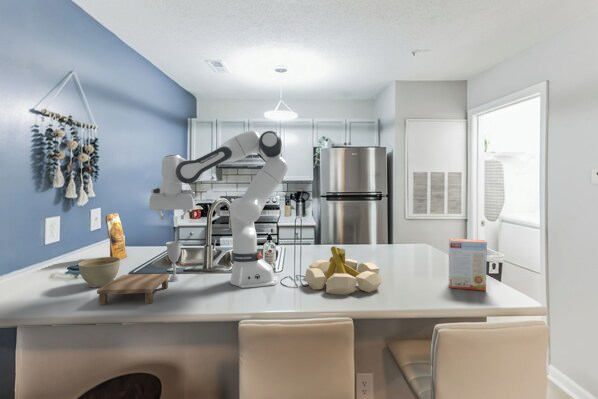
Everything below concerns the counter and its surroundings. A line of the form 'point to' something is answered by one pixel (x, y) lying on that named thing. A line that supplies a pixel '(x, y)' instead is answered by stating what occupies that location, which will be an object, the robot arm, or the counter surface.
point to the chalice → (174, 257)
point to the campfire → (342, 274)
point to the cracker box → (467, 264)
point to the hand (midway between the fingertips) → (172, 219)
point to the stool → (134, 286)
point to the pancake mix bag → (115, 236)
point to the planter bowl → (99, 270)
